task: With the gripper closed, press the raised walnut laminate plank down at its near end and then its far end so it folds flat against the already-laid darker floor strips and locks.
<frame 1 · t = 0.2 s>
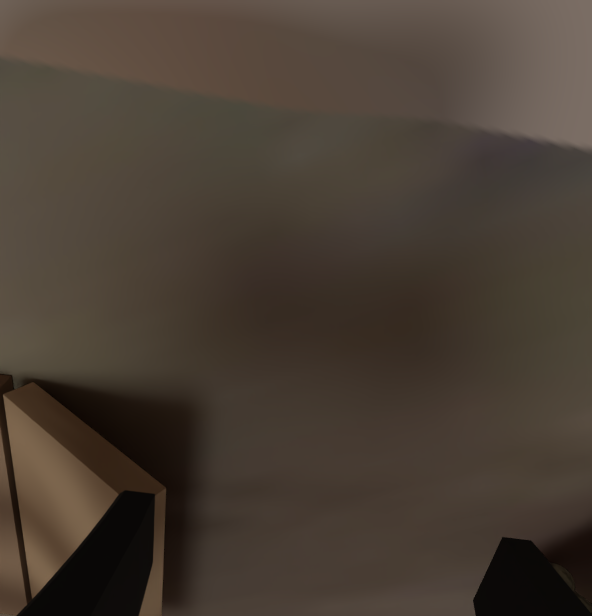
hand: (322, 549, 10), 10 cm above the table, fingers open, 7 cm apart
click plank: (86, 566, 21), point 3 cm above the table, hinge at 35.0°
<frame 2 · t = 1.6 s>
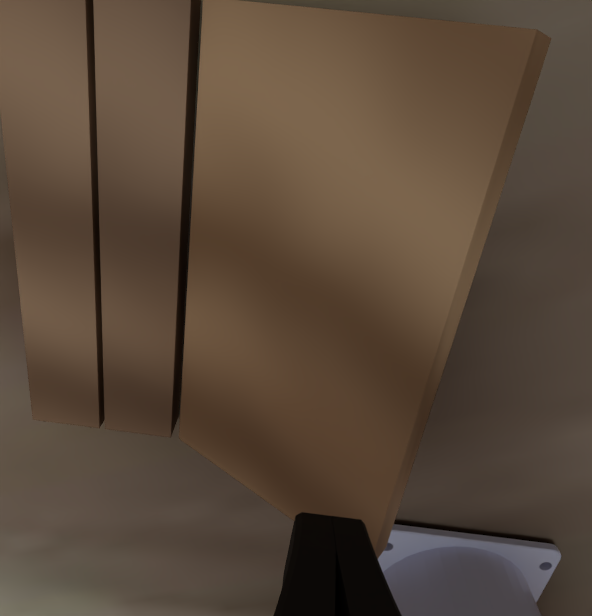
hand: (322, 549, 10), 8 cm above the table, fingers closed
laid row: (110, 235, 16), on the table
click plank: (304, 303, 14), point 3 cm above the table, hinge at 35.0°
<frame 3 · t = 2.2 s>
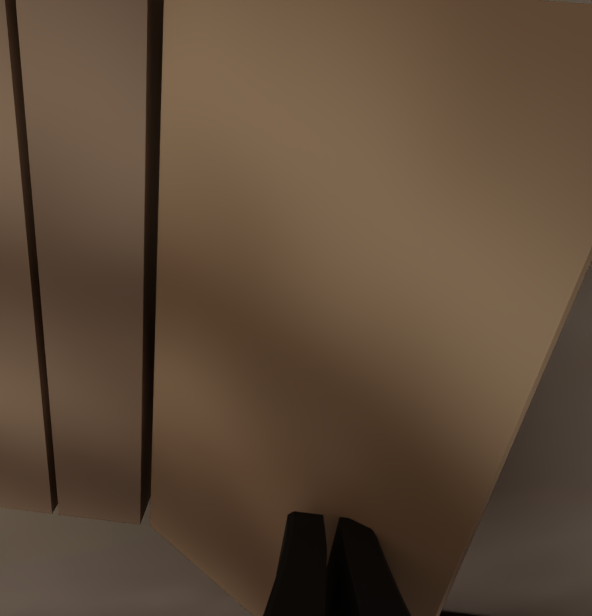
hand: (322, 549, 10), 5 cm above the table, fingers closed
laid row: (59, 283, 13), on the table
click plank: (305, 383, 11), point 3 cm above the table, hinge at 34.9°, touching gripper
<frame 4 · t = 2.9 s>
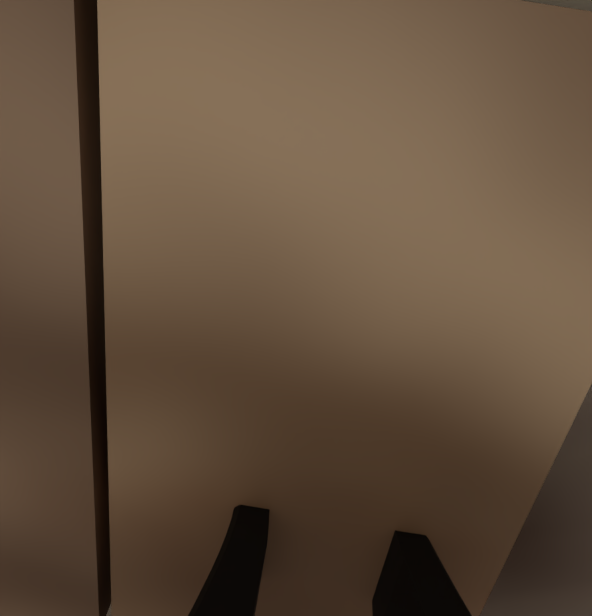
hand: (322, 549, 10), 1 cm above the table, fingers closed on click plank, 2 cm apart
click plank: (325, 418, 10), point 1 cm above the table, hinge at 4.0°, touching gripper
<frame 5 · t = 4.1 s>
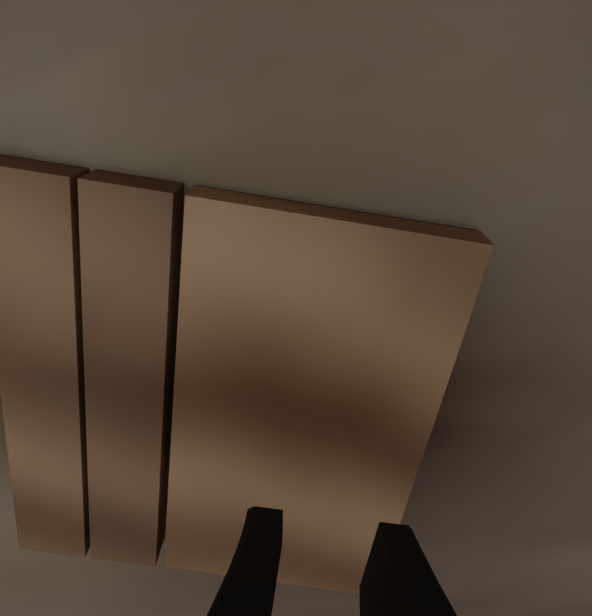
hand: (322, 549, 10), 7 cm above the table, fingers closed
laid row: (96, 382, 17), on the table
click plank: (299, 423, 16), point 1 cm above the table, hinge at 1.0°
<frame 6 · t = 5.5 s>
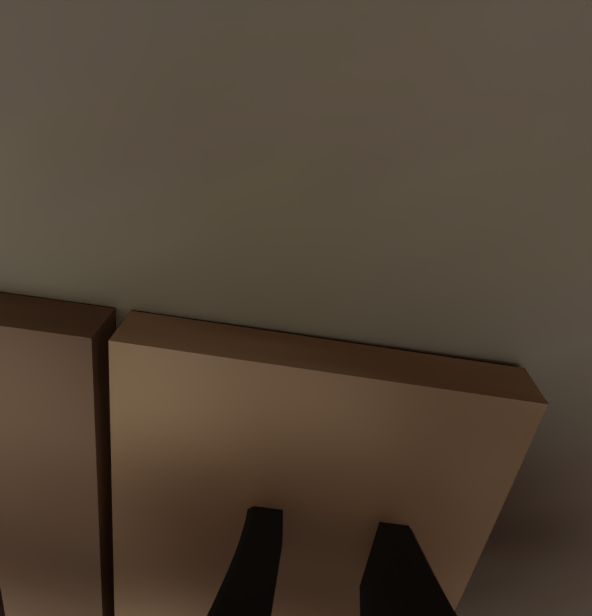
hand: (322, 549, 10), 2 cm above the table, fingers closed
laid row: (20, 536, 13), on the table
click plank: (282, 591, 13), point 1 cm above the table, hinge at 1.0°
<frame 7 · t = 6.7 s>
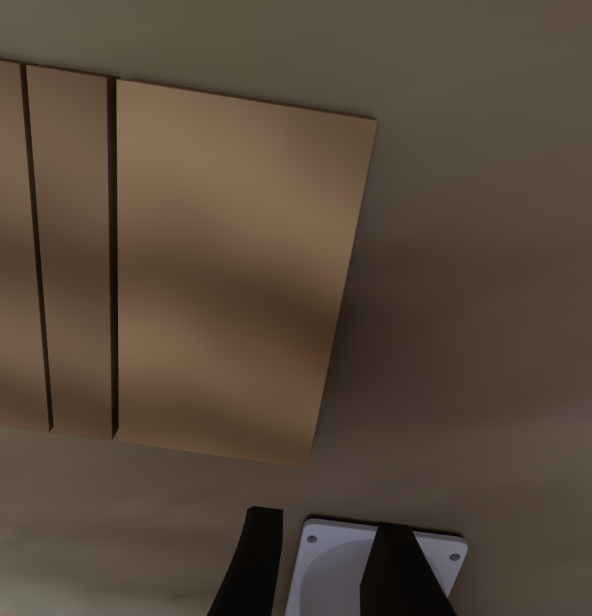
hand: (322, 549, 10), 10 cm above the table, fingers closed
laid row: (54, 267, 19), on the table
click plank: (230, 299, 19), point 1 cm above the table, hinge at 1.0°
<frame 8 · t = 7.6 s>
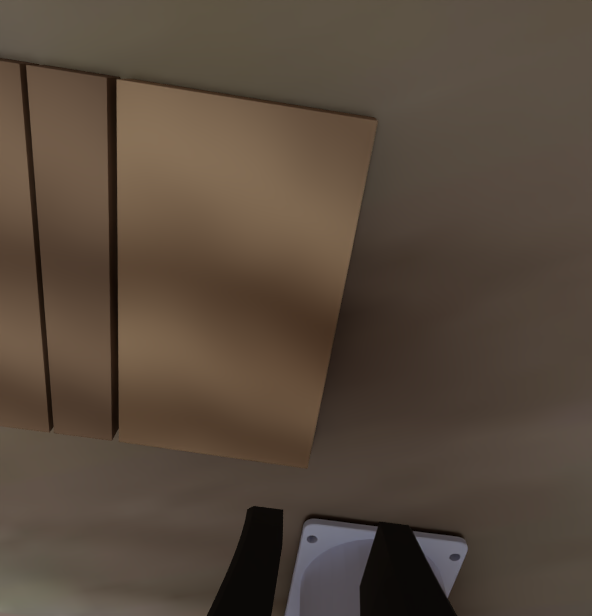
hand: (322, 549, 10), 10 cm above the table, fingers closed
laid row: (54, 267, 19), on the table
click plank: (230, 299, 19), point 1 cm above the table, hinge at 1.0°
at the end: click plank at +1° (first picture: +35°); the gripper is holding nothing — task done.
